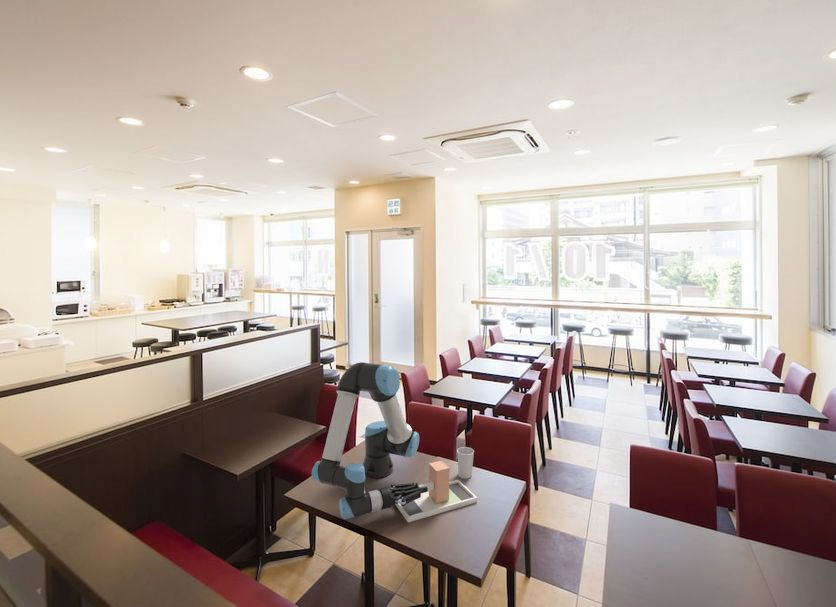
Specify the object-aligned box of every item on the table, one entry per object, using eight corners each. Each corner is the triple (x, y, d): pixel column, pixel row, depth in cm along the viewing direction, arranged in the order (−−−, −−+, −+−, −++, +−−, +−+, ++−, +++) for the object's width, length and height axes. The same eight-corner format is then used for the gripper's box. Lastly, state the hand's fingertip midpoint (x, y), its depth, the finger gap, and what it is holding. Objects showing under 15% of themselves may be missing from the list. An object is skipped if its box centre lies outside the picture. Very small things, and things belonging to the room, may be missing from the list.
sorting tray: (392, 501, 171) (392, 496, 171) (458, 483, 185) (458, 479, 184) (408, 522, 157) (408, 517, 157) (477, 501, 171) (477, 497, 170)
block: (428, 494, 173) (428, 463, 172) (440, 491, 176) (441, 460, 174) (436, 503, 167) (436, 471, 166) (449, 499, 170) (449, 467, 168)
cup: (460, 469, 198) (460, 445, 196) (475, 473, 194) (476, 449, 193) (454, 477, 191) (454, 452, 189) (470, 481, 187) (470, 456, 186)
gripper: (374, 499, 165) (426, 486, 175) (385, 518, 153) (440, 502, 163) (374, 482, 164) (426, 469, 174) (385, 499, 152) (440, 484, 162)
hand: (433, 485), depth 169 cm, fingers closed
